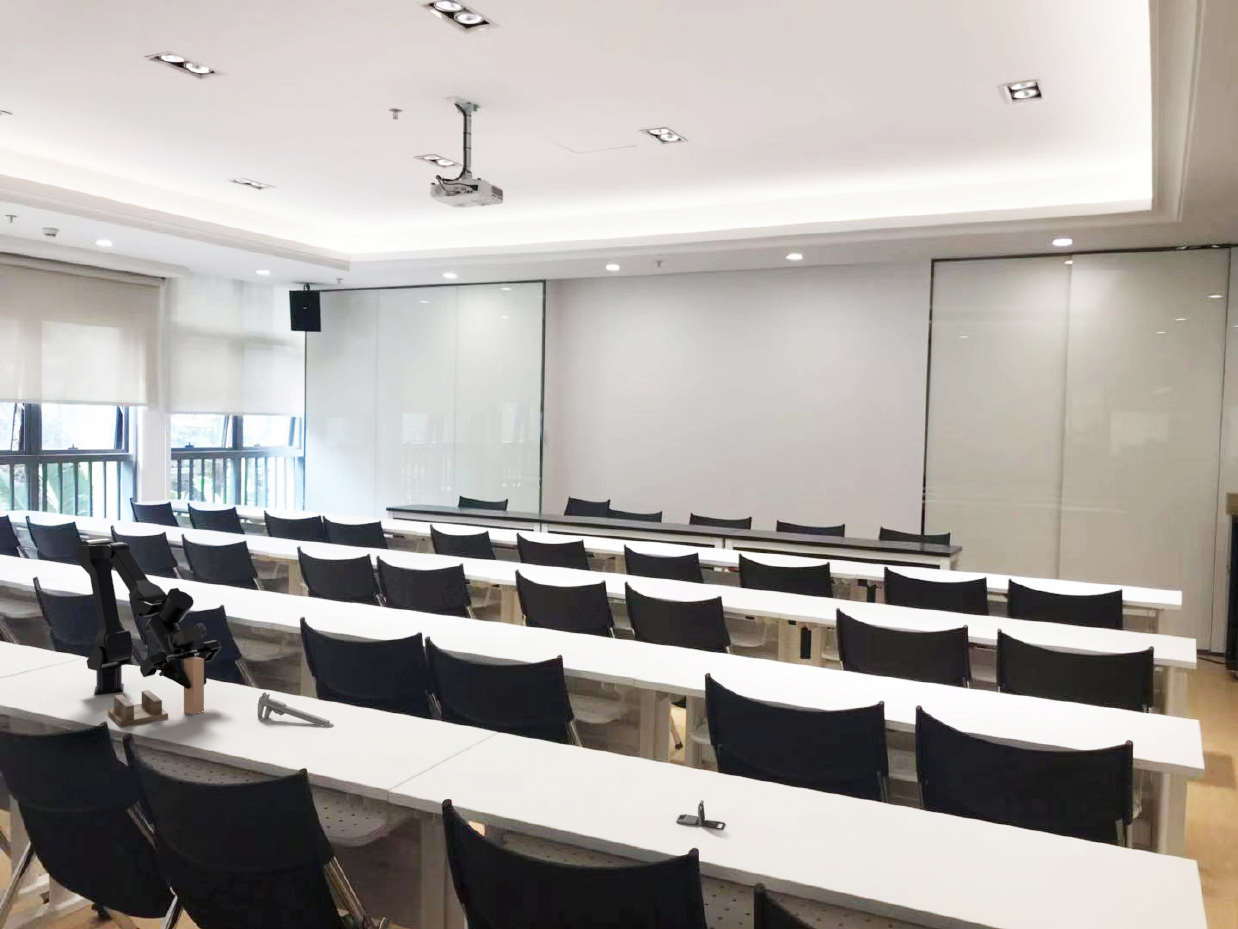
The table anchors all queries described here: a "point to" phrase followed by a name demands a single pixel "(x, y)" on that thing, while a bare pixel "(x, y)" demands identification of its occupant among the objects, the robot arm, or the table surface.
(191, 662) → the clay block
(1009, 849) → the table surface
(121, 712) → the slot rack
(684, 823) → the strap clip
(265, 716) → the caliper
